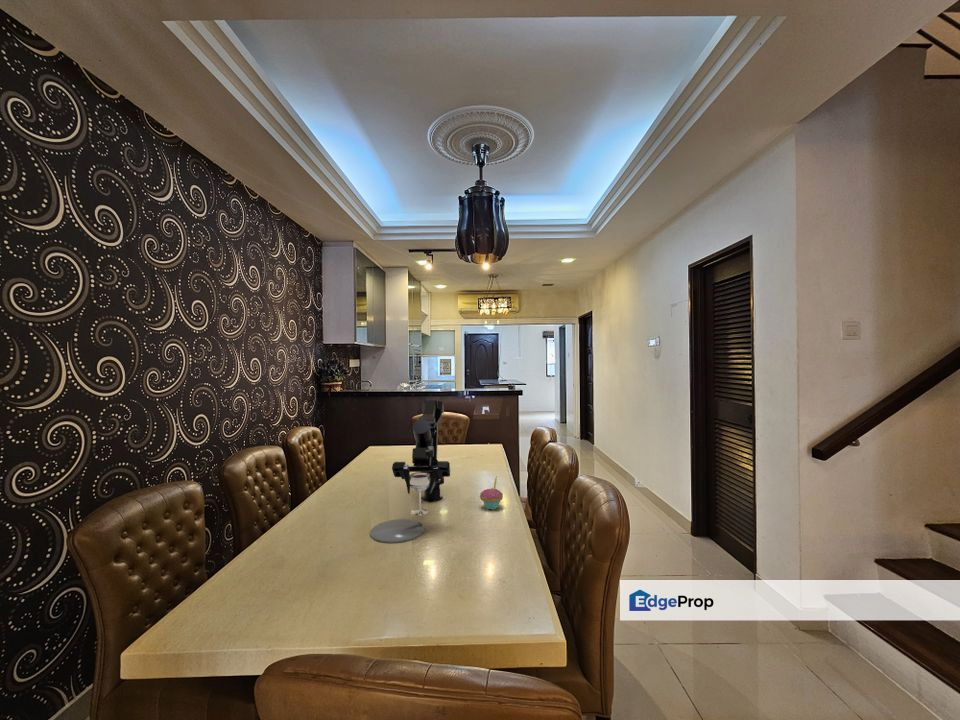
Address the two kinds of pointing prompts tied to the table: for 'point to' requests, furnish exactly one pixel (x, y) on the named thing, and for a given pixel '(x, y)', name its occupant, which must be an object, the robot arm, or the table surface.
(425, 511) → the wineglass
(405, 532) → the slate plate
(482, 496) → the cupcake
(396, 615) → the table surface
